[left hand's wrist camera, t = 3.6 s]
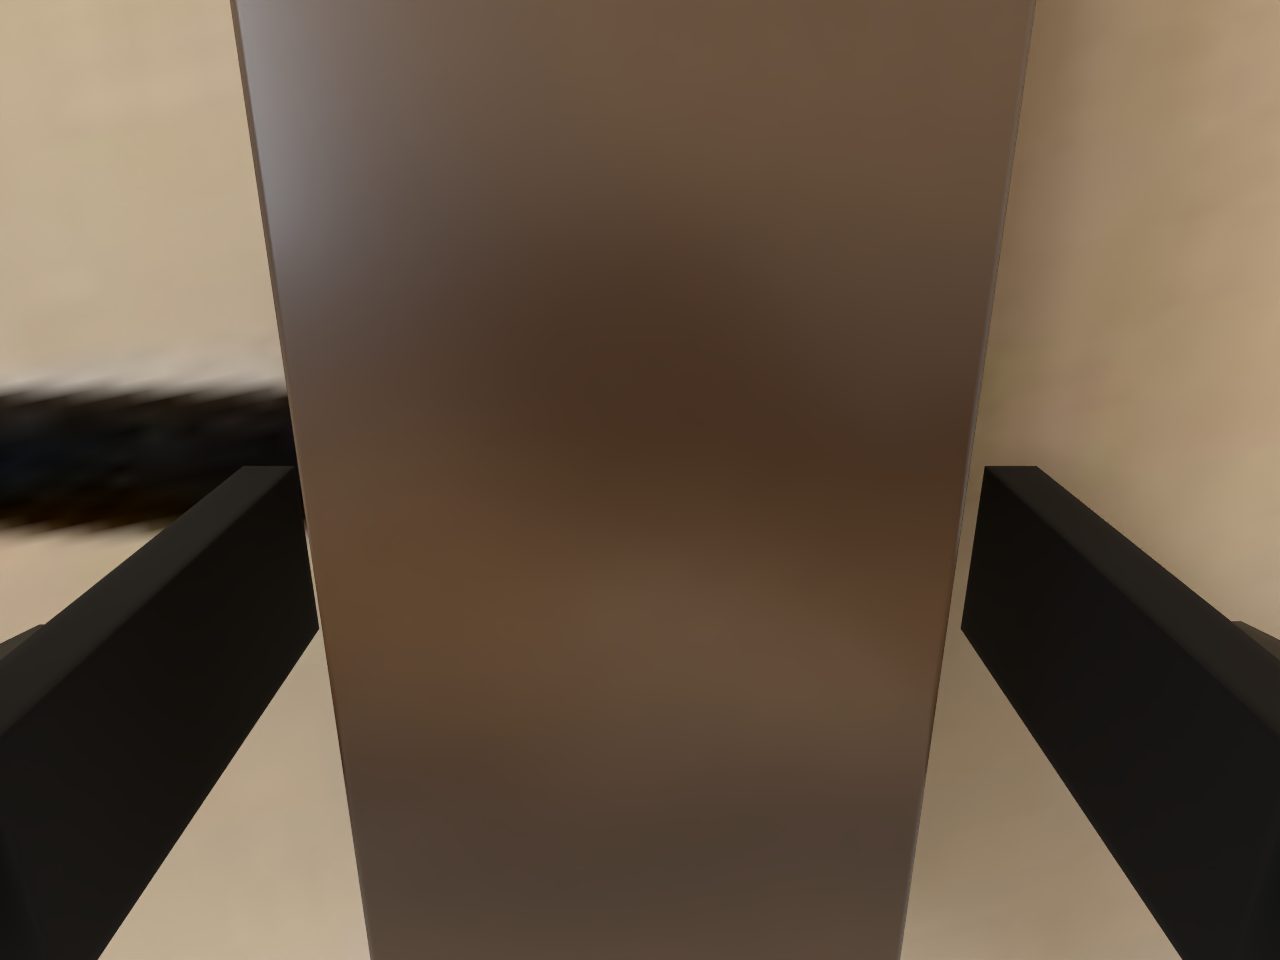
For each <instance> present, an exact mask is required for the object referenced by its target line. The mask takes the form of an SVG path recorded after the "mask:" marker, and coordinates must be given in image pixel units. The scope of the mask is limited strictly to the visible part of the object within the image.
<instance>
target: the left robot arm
mask: <svg viewBox="0 0 1280 960" xmlns="http://www.w3.org/2000/svg"><path fill="white" fill-rule="evenodd" d="M318 630H319V624H318V617H317V610H316V604H315V597H314V590H313V583H312V577H311V570H310V563H309V557H308V550H307V543H306V536H305V530H304V523H303V516H302V509H301V503H300V496H299V489H298V482H297V476H296V469H295V466H243V467H242V468H241V469H239V470H238V471H237V472H235V473H234V474H233V475H232V476H230V477H229V478H228V479H227V480H225V481H224V482H223V483H222V484H220V485H219V486H218V487H217V488H215V489H214V490H213V491H212V492H210V493H209V494H208V495H207V496H205V497H204V498H203V499H202V500H200V501H199V502H198V503H197V504H195V505H194V506H193V507H192V508H190V509H189V510H188V511H187V512H185V513H184V514H183V515H182V516H180V517H179V518H178V519H177V520H175V521H174V522H173V523H172V524H170V525H169V526H168V527H167V528H165V529H164V530H163V531H162V532H160V533H159V534H158V535H157V536H155V537H154V538H153V539H152V540H150V541H149V542H148V543H147V544H145V545H144V546H143V547H141V548H140V549H139V550H138V551H136V552H135V553H134V554H133V555H131V556H130V557H129V558H128V559H126V560H125V561H124V562H123V563H121V564H120V565H119V566H118V567H116V568H115V569H114V570H113V571H111V572H110V573H109V574H108V575H106V576H105V577H104V578H103V579H101V580H100V581H99V582H98V583H96V584H95V585H94V586H93V587H91V588H90V589H89V590H88V591H86V592H85V593H84V594H83V595H81V596H80V597H79V598H78V599H76V600H75V601H74V602H73V603H71V604H70V605H69V606H68V607H66V608H65V609H64V610H63V611H61V612H60V613H59V614H58V615H56V616H55V617H54V618H52V619H51V620H50V621H49V622H47V623H46V624H45V625H38V626H36V627H34V628H32V629H30V630H27V631H25V632H23V633H21V634H19V635H17V636H15V637H13V638H11V639H9V640H7V641H5V642H3V643H1V644H0V960H98V958H99V957H100V955H101V954H102V952H103V951H104V949H105V948H106V946H107V945H108V943H109V942H110V940H111V939H112V937H113V936H114V934H115V933H116V931H117V930H118V928H119V927H120V925H121V924H122V922H123V921H124V920H125V918H126V917H127V915H128V914H129V912H130V911H131V909H132V908H133V906H134V905H135V903H136V902H137V900H138V899H139V897H140V896H141V894H142V893H143V891H144V890H145V888H146V887H147V885H148V884H149V882H150V881H151V879H152V878H153V876H154V875H155V873H156V872H157V870H158V869H159V867H160V866H161V864H162V863H163V861H164V860H165V858H166V857H167V855H168V854H169V852H170V851H171V849H172V848H173V846H174V845H175V843H176V842H177V840H178V839H179V837H180V836H181V834H182V833H183V831H184V830H185V828H186V827H187V825H188V824H189V822H190V821H191V819H192V818H193V816H194V815H195V813H196V812H197V811H198V809H199V808H200V806H201V805H202V803H203V802H204V800H205V799H206V797H207V796H208V794H209V793H210V791H211V790H212V788H213V787H214V785H215V784H216V782H217V781H218V779H219V778H220V776H221V775H222V773H223V772H224V770H225V769H226V767H227V766H228V764H229V763H230V761H231V760H232V758H233V757H234V755H235V754H236V752H237V751H238V749H239V748H240V746H241V745H242V743H243V742H244V740H245V739H246V737H247V736H248V734H249V733H250V731H251V730H252V728H253V727H254V725H255V724H256V722H257V721H258V719H259V718H260V716H261V715H262V713H263V712H264V710H265V709H266V707H267V706H268V704H269V703H270V702H271V700H272V699H273V697H274V696H275V694H276V693H277V691H278V690H279V688H280V687H281V685H282V684H283V682H284V681H285V679H286V678H287V676H288V675H289V673H290V672H291V670H292V669H293V667H294V666H295V664H296V663H297V661H298V660H299V658H300V657H301V655H302V654H303V652H304V651H305V649H306V648H307V646H308V645H309V643H310V642H311V640H312V639H313V637H314V636H315V634H316V633H317V631H318ZM961 630H962V631H963V633H964V634H965V636H966V637H967V639H968V640H969V642H970V643H971V645H972V646H973V648H974V649H975V651H976V652H977V654H978V655H979V657H980V658H981V660H982V661H983V663H984V664H985V666H986V667H987V669H988V670H989V672H990V673H991V675H992V676H993V678H994V679H995V681H996V682H997V684H998V685H999V687H1000V688H1001V690H1002V691H1003V693H1004V694H1005V696H1006V697H1007V699H1008V700H1009V702H1010V703H1011V705H1012V706H1013V708H1014V709H1015V710H1016V712H1017V713H1018V715H1019V716H1020V718H1021V719H1022V721H1023V722H1024V724H1025V725H1026V727H1027V728H1028V730H1029V731H1030V733H1031V734H1032V736H1033V737H1034V739H1035V740H1036V742H1037V743H1038V745H1039V746H1040V748H1041V749H1042V751H1043V752H1044V754H1045V755H1046V757H1047V758H1048V760H1049V761H1050V763H1051V764H1052V766H1053V767H1054V769H1055V770H1056V772H1057V773H1058V775H1059V776H1060V778H1061V779H1062V781H1063V782H1064V784H1065V785H1066V787H1067V788H1068V790H1069V791H1070V793H1071V794H1072V796H1073V797H1074V799H1075V800H1076V802H1077V803H1078V805H1079V806H1080V808H1081V809H1082V811H1083V812H1084V814H1085V815H1086V817H1087V818H1088V819H1089V821H1090V822H1091V824H1092V825H1093V827H1094V828H1095V830H1096V831H1097V833H1098V834H1099V836H1100V837H1101V839H1102V840H1103V842H1104V843H1105V845H1106V846H1107V848H1108V849H1109V851H1110V852H1111V854H1112V855H1113V857H1114V858H1115V860H1116V861H1117V863H1118V864H1119V866H1120V867H1121V869H1122V870H1123V872H1124V873H1125V875H1126V876H1127V878H1128V879H1129V881H1130V882H1131V884H1132V885H1133V887H1134V888H1135V890H1136V891H1137V893H1138V894H1139V896H1140V897H1141V899H1142V900H1143V902H1144V903H1145V905H1146V906H1147V908H1148V909H1149V911H1150V912H1151V914H1152V915H1153V917H1154V918H1155V920H1156V921H1157V923H1158V924H1159V926H1160V927H1161V928H1162V930H1163V931H1164V933H1165V934H1166V936H1167V937H1168V939H1169V940H1170V942H1171V943H1172V945H1173V946H1174V948H1175V949H1176V951H1177V952H1178V954H1179V955H1180V957H1181V958H1182V960H1280V640H1279V639H1277V638H1274V637H1272V636H1270V635H1268V634H1266V633H1264V632H1262V631H1260V630H1258V629H1256V628H1254V627H1252V626H1250V625H1248V624H1246V623H1243V622H1241V621H1230V620H1229V619H1227V618H1226V617H1225V616H1224V615H1222V614H1221V613H1220V612H1219V611H1217V610H1216V609H1215V608H1214V607H1212V606H1211V605H1210V604H1209V603H1207V602H1206V601H1205V600H1204V599H1202V598H1201V597H1200V596H1199V595H1197V594H1196V593H1195V592H1194V591H1192V590H1191V589H1190V588H1189V587H1187V586H1186V585H1185V584H1184V583H1182V582H1181V581H1180V580H1179V579H1177V578H1176V577H1175V576H1174V575H1172V574H1171V573H1170V572H1169V571H1167V570H1166V569H1165V568H1164V567H1162V566H1161V565H1160V564H1159V563H1157V562H1156V561H1155V560H1154V559H1152V558H1151V557H1150V556H1149V555H1147V554H1146V553H1145V552H1144V551H1142V550H1141V549H1140V548H1138V547H1137V546H1136V545H1135V544H1133V543H1132V542H1131V541H1130V540H1128V539H1127V538H1126V537H1125V536H1123V535H1122V534H1121V533H1120V532H1118V531H1117V530H1116V529H1115V528H1113V527H1112V526H1111V525H1110V524H1108V523H1107V522H1106V521H1105V520H1103V519H1102V518H1101V517H1100V516H1098V515H1097V514H1096V513H1095V512H1093V511H1092V510H1091V509H1090V508H1088V507H1087V506H1086V505H1085V504H1083V503H1082V502H1081V501H1080V500H1078V499H1077V498H1076V497H1075V496H1073V495H1072V494H1071V493H1070V492H1068V491H1067V490H1066V489H1065V488H1063V487H1062V486H1061V485H1060V484H1058V483H1057V482H1056V481H1055V480H1053V479H1052V478H1051V477H1050V476H1048V475H1047V474H1046V473H1044V472H1043V471H1042V470H1041V469H1039V468H1038V467H1037V466H985V469H984V475H983V482H982V489H981V496H980V502H979V509H978V516H977V523H976V529H975V536H974V543H973V550H972V556H971V563H970V570H969V577H968V583H967V590H966V597H965V604H964V610H963V617H962V624H961Z"/></svg>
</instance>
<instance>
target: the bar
mask: <svg viewBox="0 0 1280 960" xmlns="http://www.w3.org/2000/svg"><path fill="white" fill-rule="evenodd" d="M1035 3H1036V0H230V5H231V11H232V18H233V25H234V32H235V39H236V45H237V52H238V59H239V66H240V73H241V80H242V86H243V93H244V100H245V107H246V114H247V120H248V127H249V134H250V141H251V148H252V154H253V161H254V168H255V175H256V182H257V188H258V195H259V202H260V209H261V216H262V223H263V229H264V236H265V243H266V250H267V257H268V263H269V270H270V277H271V284H272V291H273V297H274V304H275V311H276V318H277V325H278V331H279V338H280V345H281V352H282V359H283V365H284V372H285V379H286V386H287V393H288V400H289V406H290V413H291V420H292V427H293V434H294V440H295V447H296V454H297V461H298V468H299V474H300V481H301V488H302V495H303V502H304V508H305V515H306V522H307V529H308V536H309V543H310V549H311V556H312V563H313V570H314V577H315V583H316V590H317V597H318V604H319V611H320V617H321V624H322V631H323V638H324V645H325V651H326V658H327V665H328V672H329V679H330V686H331V692H332V699H333V706H334V713H335V720H336V726H337V733H338V740H339V747H340V754H341V760H342V767H343V774H344V781H345V788H346V794H347V801H348V808H349V815H350V822H351V828H352V835H353V842H354V849H355V856H356V863H357V869H358V876H359V883H360V890H361V897H362V903H363V910H364V917H365V924H366V931H367V937H368V944H369V951H370V958H371V960H900V956H901V949H902V942H903V935H904V928H905V921H906V913H907V906H908V899H909V892H910V885H911V878H912V871H913V864H914V857H915V850H916V843H917V836H918V829H919V822H920V815H921V808H922V801H923V794H924V786H925V779H926V772H927V765H928V758H929V751H930V744H931V737H932V730H933V723H934V716H935V709H936V702H937V695H938V688H939V681H940V674H941V667H942V659H943V652H944V645H945V638H946V631H947V624H948V617H949V610H950V603H951V596H952V589H953V582H954V575H955V568H956V561H957V554H958V547H959V540H960V532H961V525H962V518H963V511H964V504H965V497H966V490H967V483H968V476H969V469H970V462H971V455H972V448H973V441H974V434H975V427H976V420H977V413H978V405H979V398H980V391H981V384H982V377H983V370H984V363H985V356H986V349H987V342H988V335H989V328H990V321H991V314H992V307H993V300H994V293H995V286H996V279H997V271H998V264H999V257H1000V250H1001V243H1002V236H1003V229H1004V222H1005V215H1006V208H1007V201H1008V194H1009V187H1010V180H1011V173H1012V166H1013V159H1014V152H1015V144H1016V137H1017V130H1018V123H1019V116H1020V109H1021V102H1022V95H1023V88H1024V81H1025V74H1026V67H1027V60H1028V53H1029V46H1030V39H1031V32H1032V25H1033V17H1034V10H1035Z"/></svg>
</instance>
